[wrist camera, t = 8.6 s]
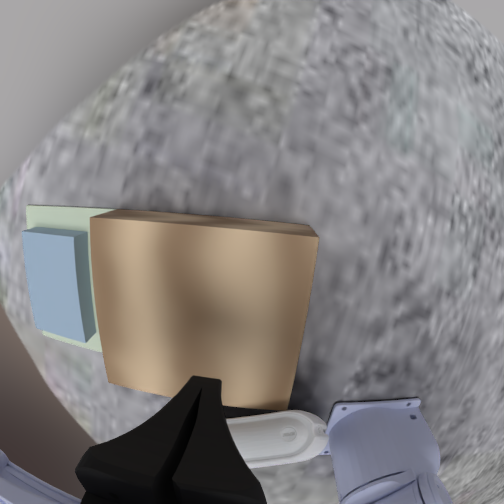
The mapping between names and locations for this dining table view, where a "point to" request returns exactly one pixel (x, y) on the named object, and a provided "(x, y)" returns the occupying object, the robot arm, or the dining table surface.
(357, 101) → the dining table surface
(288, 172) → the dining table surface
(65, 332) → the blue box
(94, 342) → the mat
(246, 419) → the photo printer
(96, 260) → the light brown flat block
